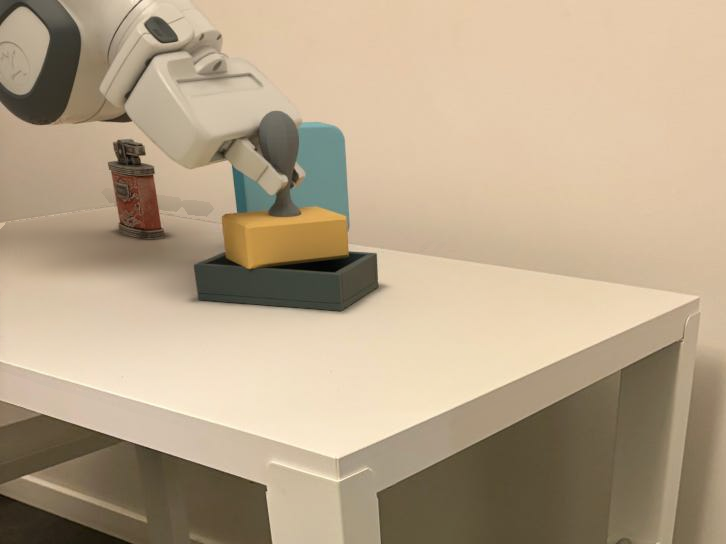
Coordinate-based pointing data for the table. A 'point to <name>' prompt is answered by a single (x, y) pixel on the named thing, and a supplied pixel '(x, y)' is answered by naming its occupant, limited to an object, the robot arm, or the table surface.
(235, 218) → the rubber stamp
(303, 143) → the teal rounded flat block
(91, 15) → the robot arm
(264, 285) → the holder
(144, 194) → the lighter
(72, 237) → the table surface
